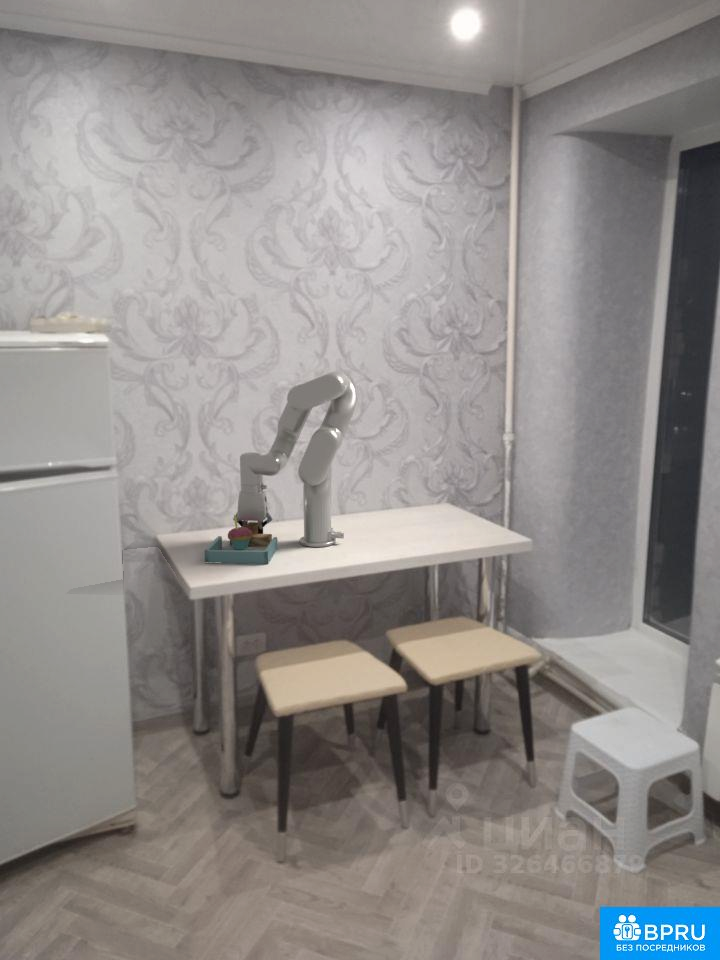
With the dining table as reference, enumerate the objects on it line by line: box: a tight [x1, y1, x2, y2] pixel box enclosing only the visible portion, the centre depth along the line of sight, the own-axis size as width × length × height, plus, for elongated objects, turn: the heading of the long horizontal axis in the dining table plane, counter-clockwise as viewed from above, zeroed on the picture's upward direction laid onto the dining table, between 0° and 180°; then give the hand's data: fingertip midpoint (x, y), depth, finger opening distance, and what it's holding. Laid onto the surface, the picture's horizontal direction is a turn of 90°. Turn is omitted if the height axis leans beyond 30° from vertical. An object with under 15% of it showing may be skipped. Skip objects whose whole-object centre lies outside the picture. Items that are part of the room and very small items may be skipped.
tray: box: [203, 535, 279, 565], centre depth 240 cm, size 20×17×4 cm
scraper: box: [229, 521, 273, 547], centre depth 255 cm, size 14×8×6 cm, turn 85°
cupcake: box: [227, 514, 253, 551], centre depth 248 cm, size 9×8×12 cm
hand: (253, 538), depth 257 cm, fingers closed on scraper, 4 cm apart
